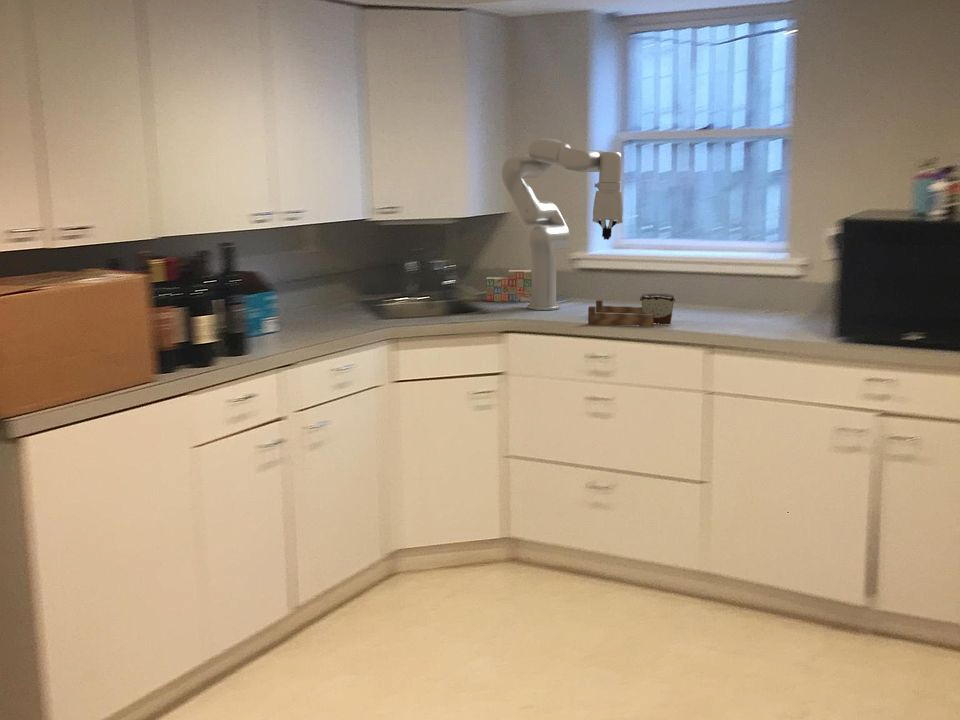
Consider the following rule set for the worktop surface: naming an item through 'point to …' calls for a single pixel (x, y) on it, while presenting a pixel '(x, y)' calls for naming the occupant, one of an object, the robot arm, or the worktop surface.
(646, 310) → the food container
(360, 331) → the worktop surface
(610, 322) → the wooden tray
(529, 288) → the stack of blocks
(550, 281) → the robot arm
